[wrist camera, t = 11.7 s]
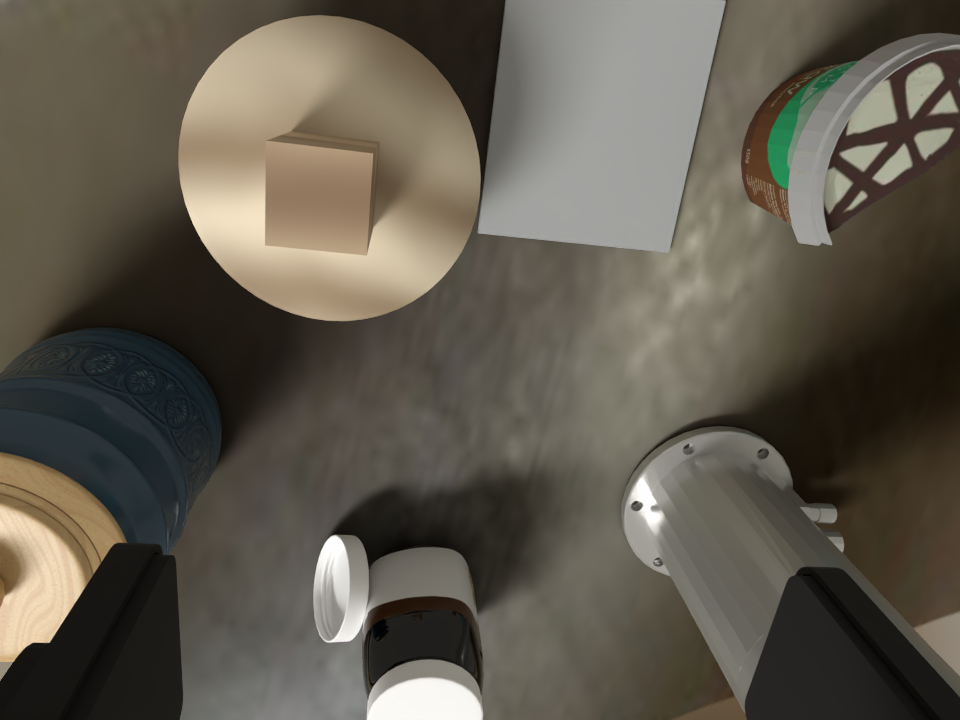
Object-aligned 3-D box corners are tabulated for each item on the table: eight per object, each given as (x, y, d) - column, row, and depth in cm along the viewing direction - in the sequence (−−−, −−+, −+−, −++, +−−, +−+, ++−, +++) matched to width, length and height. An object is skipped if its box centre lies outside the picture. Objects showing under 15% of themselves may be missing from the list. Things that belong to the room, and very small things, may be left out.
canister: (63, 280, 39) (-183, 417, 23) (264, 390, 43) (177, 576, 27) (-25, 445, 42) (-295, 670, 26) (170, 535, 46) (41, 778, 30)
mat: (722, 1, 37) (725, 0, 37) (666, 251, 42) (669, 252, 42) (509, -33, 35) (510, -34, 35) (477, 231, 40) (478, 233, 40)
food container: (870, -5, 38) (1020, -35, 28) (908, 91, 40) (1059, 92, 31) (683, 130, 39) (767, 143, 30) (729, 215, 42) (821, 252, 32)
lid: (461, 325, 36) (473, 377, 30) (189, 302, 34) (139, 352, 28) (496, 41, 31) (519, 29, 25) (179, -5, 29) (114, -32, 23)
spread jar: (477, 630, 52) (496, 770, 41) (331, 649, 51) (311, 798, 41) (464, 500, 47) (481, 620, 37) (303, 519, 47) (273, 648, 36)
